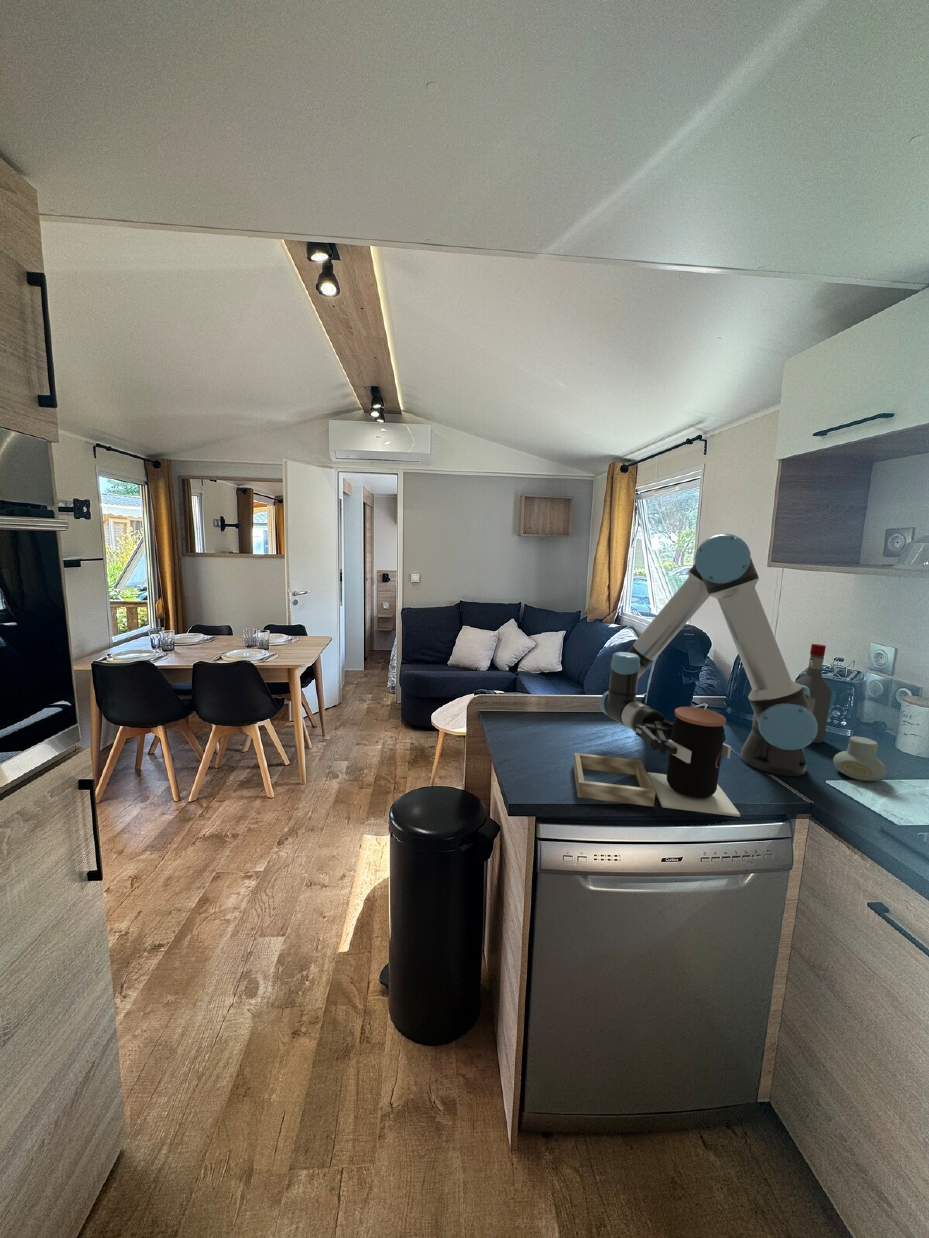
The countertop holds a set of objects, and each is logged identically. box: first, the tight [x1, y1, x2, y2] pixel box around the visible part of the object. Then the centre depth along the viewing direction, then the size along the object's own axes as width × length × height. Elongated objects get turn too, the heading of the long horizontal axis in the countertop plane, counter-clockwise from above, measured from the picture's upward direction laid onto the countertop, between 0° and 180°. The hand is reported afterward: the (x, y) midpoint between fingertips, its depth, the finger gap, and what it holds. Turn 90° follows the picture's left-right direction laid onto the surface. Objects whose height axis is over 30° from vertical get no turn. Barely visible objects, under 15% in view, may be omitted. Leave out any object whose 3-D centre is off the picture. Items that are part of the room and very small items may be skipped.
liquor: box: [794, 643, 833, 744], centre depth 152 cm, size 9×9×30 cm
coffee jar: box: [666, 706, 727, 798], centre depth 112 cm, size 11×11×18 cm
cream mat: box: [646, 771, 741, 818], centre depth 114 cm, size 16×16×1 cm
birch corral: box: [572, 752, 656, 807], centre depth 116 cm, size 16×16×4 cm
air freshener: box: [832, 735, 888, 782], centre depth 128 cm, size 11×8×10 cm
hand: (709, 754), depth 108 cm, fingers closed on coffee jar, 11 cm apart
